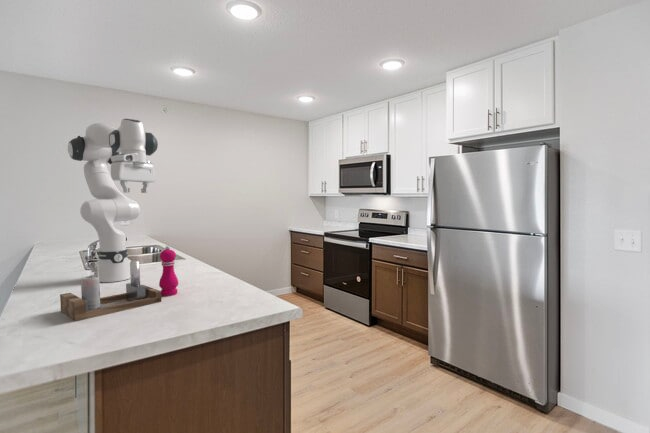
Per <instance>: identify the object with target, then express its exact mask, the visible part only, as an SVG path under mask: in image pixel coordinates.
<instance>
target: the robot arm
mask: <svg viewBox="0 0 650 433" xmlns="http://www.w3.org/2000/svg"><path fill="white" fill-rule="evenodd" d="M158 143H159V142H158V140H157V137H156V136H155V135H154V134H153V133H152V132H145V127H144V124H143V122H142V120H138V119H134V118H122V119H121V122H120V125H119V127H118V128H117V127H115V126H112V125H109V124H107V123H103V122H102V123H101V122H100V123H99V122H97V123H92V124H90V125H88V126H87V127H86V130H85V135H84V136H81V135H78V136H77V137H75V138H72V139H71V140H70V141H69V142H68V144H67V153H68V155H69V157H70V158H71V159H72V160H74V161H76V162H77V161H79V162H81V161H84V162H85V161H86V162H85V164H84V166H83V174H84V178H85V182H86V184H87V186H88V189H89V192H90V195H91V196H92V197H93V198H95V199H90V200H86V201H84V202H83V203H82V204H81V206H80V209H79V210H80V216H81V217H82V220H84V221H85V222H87V223H89V224H90V225H91V226H92V227H93V228H94V229H95V231H96V234H97V237H98V243H99V251H98V260H97V261H96V263H95V264H94V266H93V267H91V269H90V270H91V273H93V274H91V275H89V276H98V277H99V283H112V282H113V283H114V282H121V281H125V280H129V279H130V262H132V260H131V259H129V258H128V256H129V255H128V254H129V252H128V249H127V237H126V234H125V232H124V231H122V229H121V230H120V229H118V228H116V227H115V225H114V222H128V221H132V220H135V219H137V218H138V217H139V215H140V213H141V208H140V205H139V203H138V202H137V200H134V199H132V198H129V197H128V196H126V195H125V194H124V193H126V194H127V193H130V192H131V191H130V190H131V189H130V187H129V186H128V185H127V184H128V182H134V183H135V182H136V183H142V185H143V187H142V188H141V189H140V191H141V193H142V194H147V193H148V188H149V186H150V183H155V182H156V180H157V179H156V171H155V166H154V164H153V163H152V161H150V160H147V156H152V155H153V154H154V153H155V152H156V151H157V150H158V145H159V144H158ZM108 164H109V165H110V171H109V169H108ZM114 181H117V182H118V181H119V185H120V186H121V188H122V191H120V190H119V189H118V188H117V186H116V184H115V182H114ZM122 192H123V193H122Z"/></svg>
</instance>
